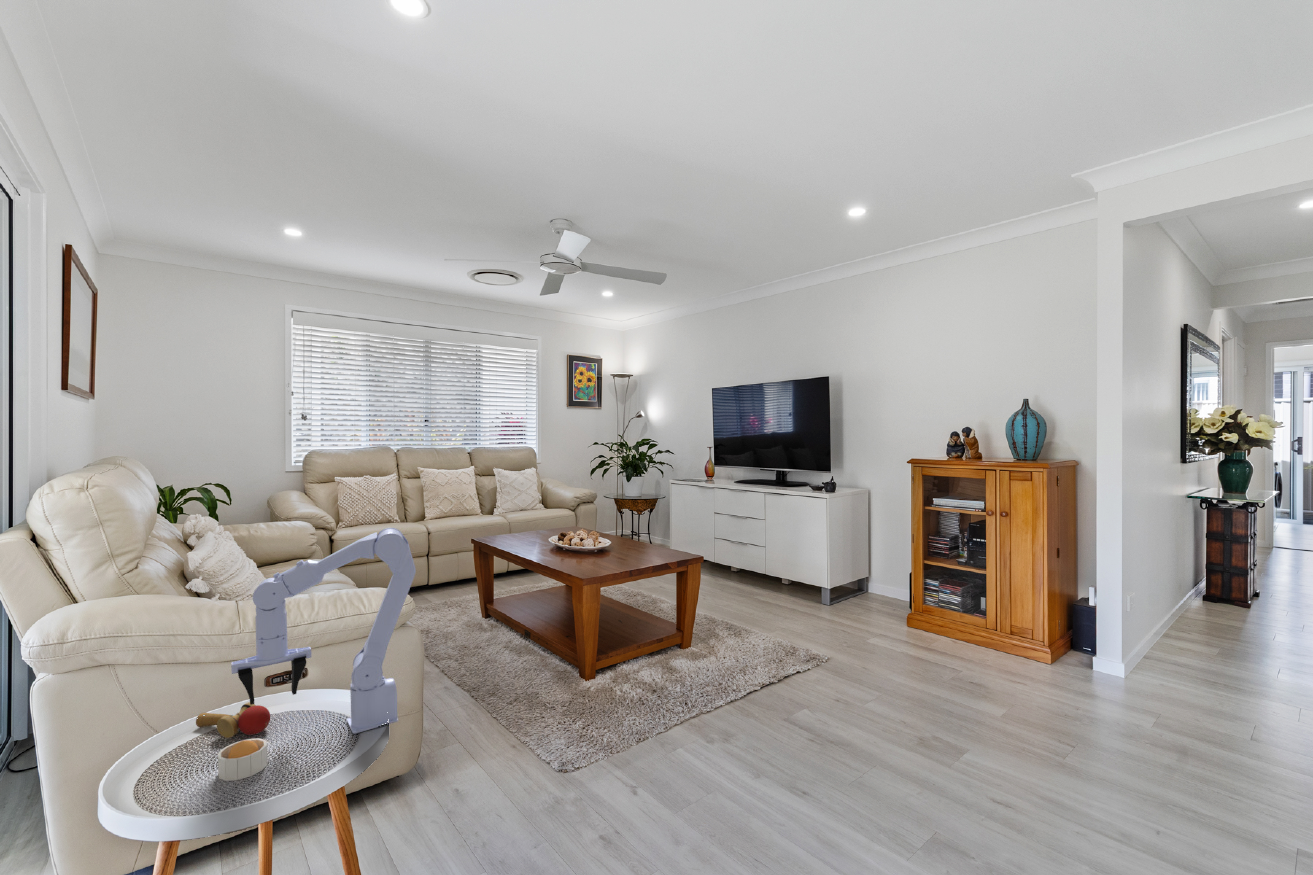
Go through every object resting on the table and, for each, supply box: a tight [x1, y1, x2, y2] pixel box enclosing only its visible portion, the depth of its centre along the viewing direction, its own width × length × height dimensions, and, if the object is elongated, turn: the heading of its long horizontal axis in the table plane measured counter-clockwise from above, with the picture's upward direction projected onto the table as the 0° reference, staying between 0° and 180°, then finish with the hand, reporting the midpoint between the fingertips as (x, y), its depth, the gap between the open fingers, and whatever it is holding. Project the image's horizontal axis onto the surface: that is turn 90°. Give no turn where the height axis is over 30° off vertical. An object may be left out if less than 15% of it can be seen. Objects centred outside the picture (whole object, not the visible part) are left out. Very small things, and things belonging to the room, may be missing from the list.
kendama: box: [195, 701, 271, 739], centre depth 137 cm, size 8×6×18 cm
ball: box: [228, 739, 258, 759], centre depth 121 cm, size 5×5×5 cm
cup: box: [217, 738, 269, 782], centre depth 121 cm, size 8×8×4 cm
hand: (273, 697), depth 132 cm, fingers open, 7 cm apart
